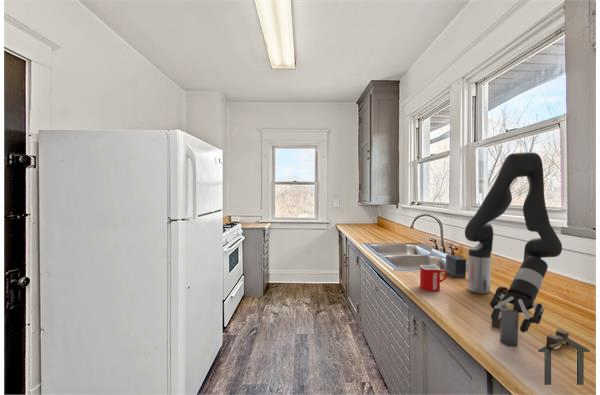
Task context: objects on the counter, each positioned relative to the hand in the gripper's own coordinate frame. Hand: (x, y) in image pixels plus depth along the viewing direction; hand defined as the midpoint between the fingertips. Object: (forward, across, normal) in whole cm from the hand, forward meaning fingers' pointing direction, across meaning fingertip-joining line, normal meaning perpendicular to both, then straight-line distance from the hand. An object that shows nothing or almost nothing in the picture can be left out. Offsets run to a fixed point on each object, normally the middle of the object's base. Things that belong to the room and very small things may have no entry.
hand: (507, 325), depth 101 cm
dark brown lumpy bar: (-22, -17, +32) cm, 42 cm away
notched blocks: (-5, 0, +14) cm, 15 cm away
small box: (-34, -54, +44) cm, 77 cm away
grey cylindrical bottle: (+3, 0, +5) cm, 6 cm away
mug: (-13, -46, +22) cm, 53 cm away
